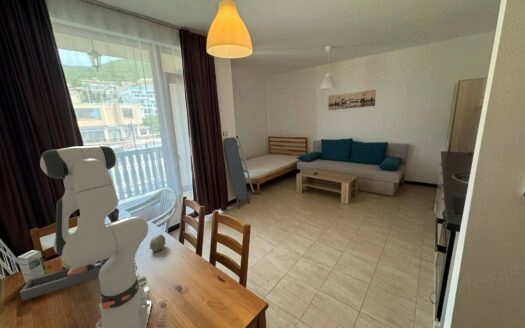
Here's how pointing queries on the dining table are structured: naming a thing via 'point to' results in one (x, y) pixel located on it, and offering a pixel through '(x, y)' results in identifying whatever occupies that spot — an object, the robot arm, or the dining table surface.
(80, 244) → the robot arm
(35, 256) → the syrup box
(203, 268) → the dining table surface
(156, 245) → the beige rough lump
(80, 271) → the terracotta block
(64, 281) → the charcoal chute
